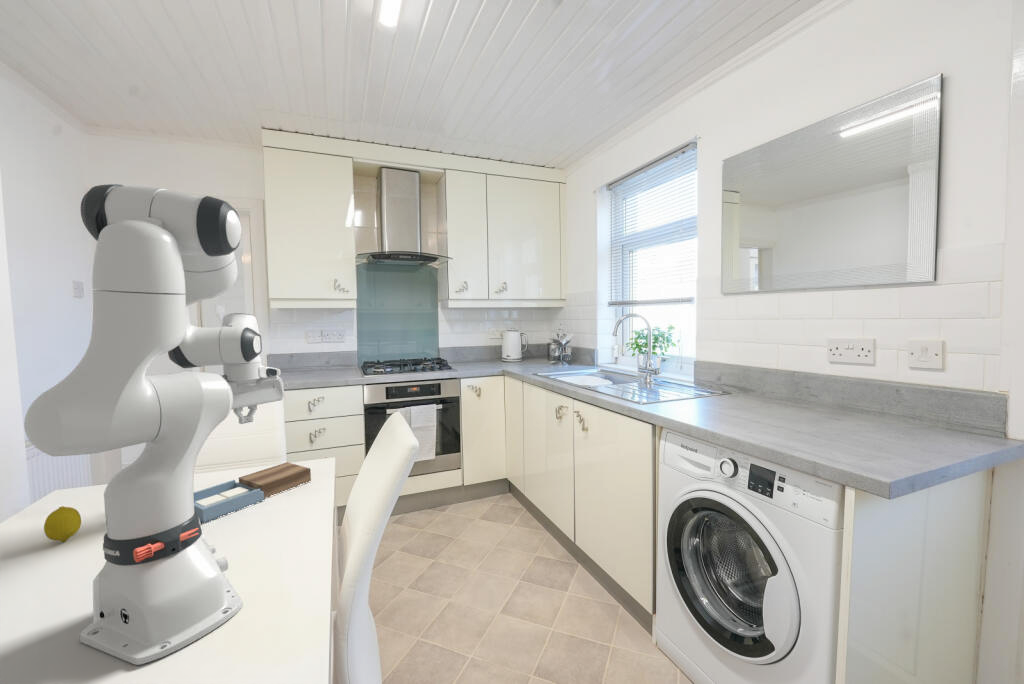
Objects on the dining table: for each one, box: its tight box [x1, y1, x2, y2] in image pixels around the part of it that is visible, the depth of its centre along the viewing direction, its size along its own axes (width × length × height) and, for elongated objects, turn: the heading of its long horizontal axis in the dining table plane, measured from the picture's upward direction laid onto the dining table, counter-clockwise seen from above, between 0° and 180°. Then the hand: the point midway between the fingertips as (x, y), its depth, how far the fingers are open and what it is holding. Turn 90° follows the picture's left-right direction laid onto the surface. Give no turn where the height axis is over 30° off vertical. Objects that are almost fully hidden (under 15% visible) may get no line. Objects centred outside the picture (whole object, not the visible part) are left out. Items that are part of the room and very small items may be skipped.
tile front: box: [195, 494, 227, 507], centre depth 105 cm, size 5×5×2 cm
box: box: [193, 479, 265, 524], centre depth 107 cm, size 14×14×4 cm
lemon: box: [43, 506, 82, 543], centre depth 90 cm, size 6×6×8 cm
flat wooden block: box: [238, 461, 312, 498], centre depth 118 cm, size 12×14×4 cm
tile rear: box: [220, 487, 250, 500], centre depth 109 cm, size 5×5×2 cm
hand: (246, 422), depth 112 cm, fingers closed
